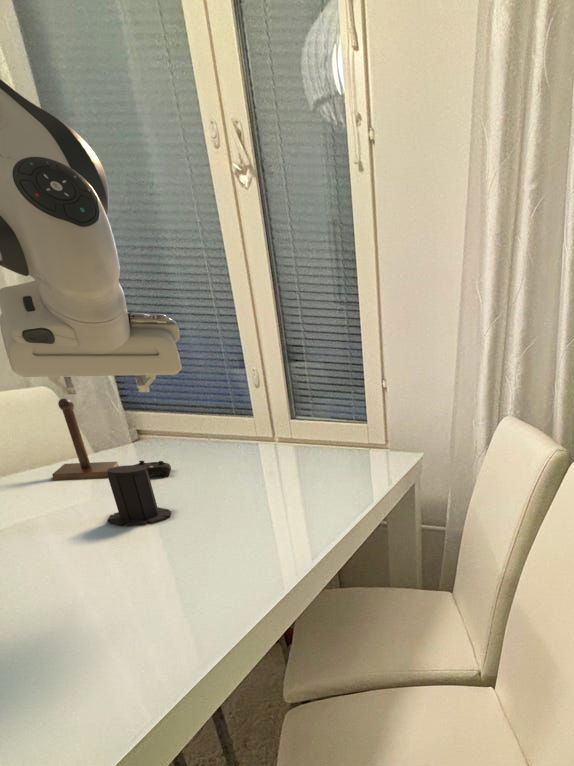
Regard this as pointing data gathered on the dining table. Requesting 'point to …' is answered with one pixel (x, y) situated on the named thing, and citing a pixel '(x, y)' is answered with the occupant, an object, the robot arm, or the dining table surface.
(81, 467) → the hat stand
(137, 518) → the hat
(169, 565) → the dining table surface
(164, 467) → the gaming controller
